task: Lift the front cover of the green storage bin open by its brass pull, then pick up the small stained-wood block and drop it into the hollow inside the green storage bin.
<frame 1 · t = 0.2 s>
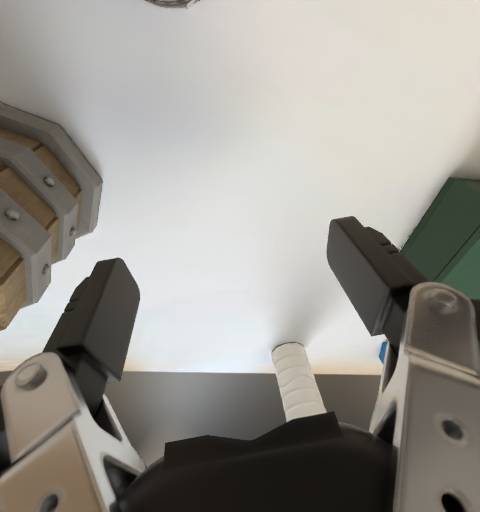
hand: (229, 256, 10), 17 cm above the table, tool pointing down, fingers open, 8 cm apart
water bottle: (292, 350, 49), on the table
green storage bin: (466, 230, 34), on the table
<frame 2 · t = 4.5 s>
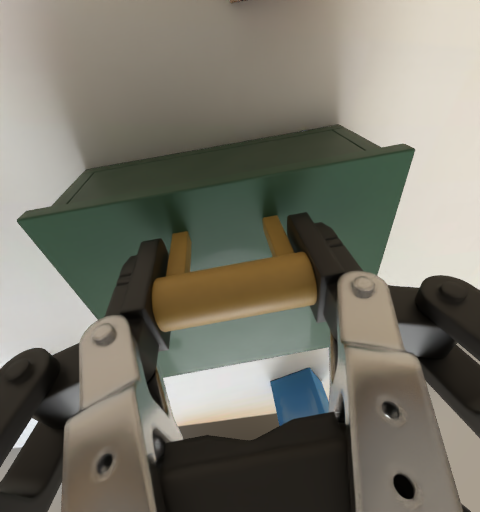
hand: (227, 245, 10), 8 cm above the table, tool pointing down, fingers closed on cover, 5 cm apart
perfume bottle: (296, 380, 39), on the table
green storage bin: (230, 235, 20), on the table
cover: (245, 329, 13), point 9 cm above the table, hinge at -0.1°, touching gripper
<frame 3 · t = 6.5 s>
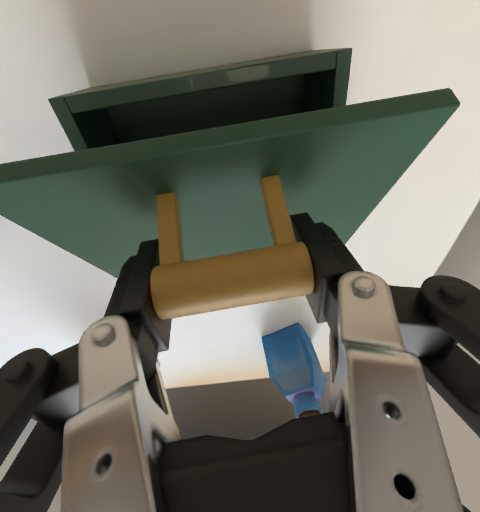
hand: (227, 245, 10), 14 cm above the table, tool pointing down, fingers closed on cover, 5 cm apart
perfume bottle: (286, 338, 40), on the table
green storage bin: (219, 164, 22), on the table
cover: (235, 272, 14), point 12 cm above the table, hinge at 30.3°, touching gripper
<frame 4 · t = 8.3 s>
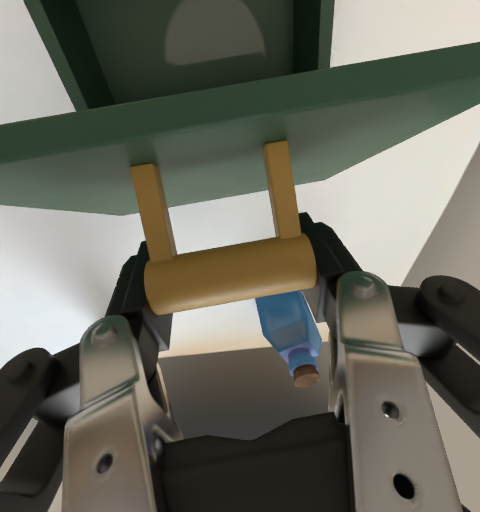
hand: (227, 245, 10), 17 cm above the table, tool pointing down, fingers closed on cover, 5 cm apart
perfume bottle: (281, 301, 39), on the table
green storage bin: (203, 80, 20), on the table
cover: (225, 220, 13), point 14 cm above the table, hinge at 58.3°, touching gripper
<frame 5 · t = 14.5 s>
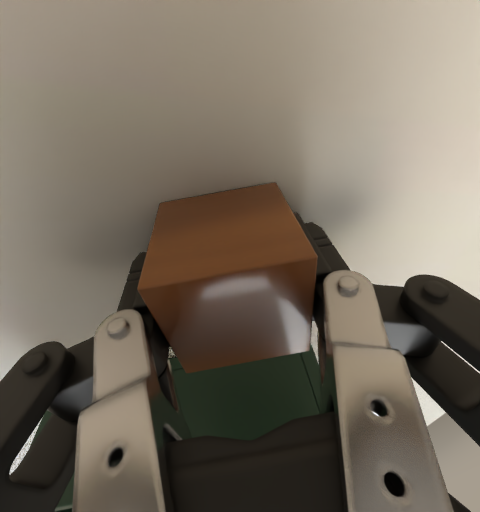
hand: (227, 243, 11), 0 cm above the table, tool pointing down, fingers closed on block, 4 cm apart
block: (227, 239, 11), on the table, touching gripper
green storage bin: (206, 398, 20), on the table
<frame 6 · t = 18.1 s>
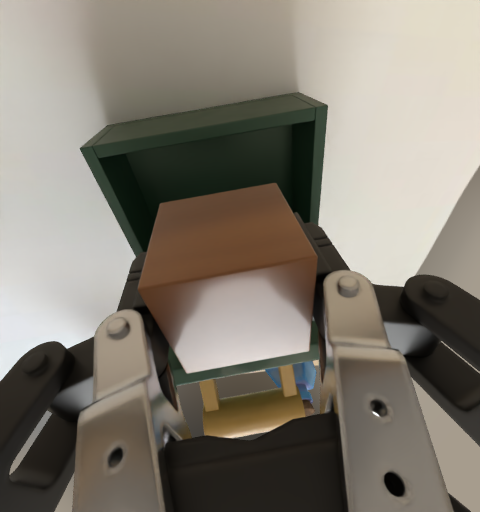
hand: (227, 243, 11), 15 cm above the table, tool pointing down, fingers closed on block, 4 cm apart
perfume bottle: (281, 335, 44), on the table
block: (227, 239, 11), point 15 cm above the table, touching gripper
green storage bin: (218, 185, 25), on the table
cover: (243, 336, 18), point 14 cm above the table, hinge at 58.9°
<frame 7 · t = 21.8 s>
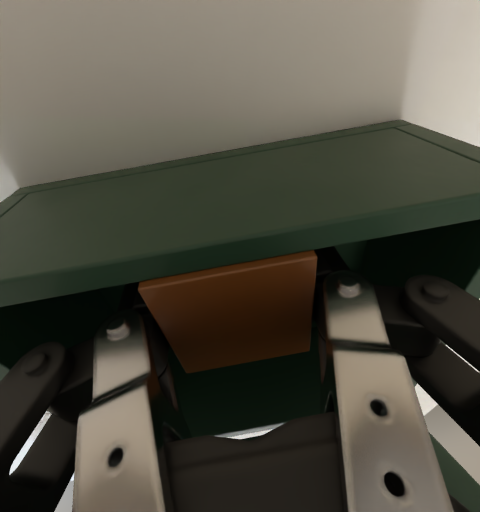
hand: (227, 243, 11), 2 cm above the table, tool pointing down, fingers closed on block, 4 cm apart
block: (227, 239, 11), point 2 cm above the table, touching green storage bin, gripper
green storage bin: (235, 271, 15), on the table
when the fingers open (2 cm above the table, at t = 21.8 s): block drops 1 cm, resting on green storage bin.
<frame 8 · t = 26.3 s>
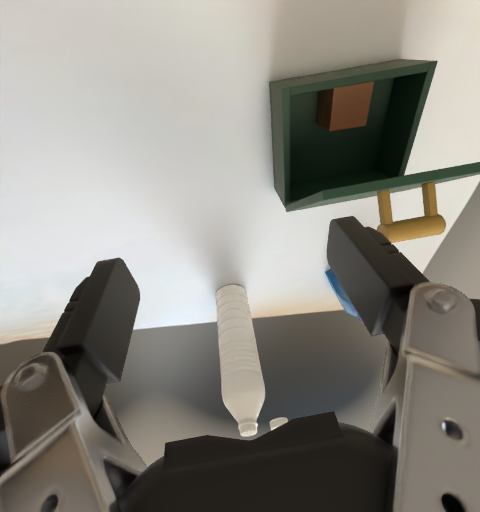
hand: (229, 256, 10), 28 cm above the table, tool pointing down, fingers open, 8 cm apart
perfume bottle: (342, 273, 53), on the table
water bottle: (236, 293, 53), on the table
block: (334, 101, 32), point 1 cm above the table, touching green storage bin
green storage bin: (329, 131, 35), on the table
cover: (376, 212, 27), point 14 cm above the table, hinge at 56.6°
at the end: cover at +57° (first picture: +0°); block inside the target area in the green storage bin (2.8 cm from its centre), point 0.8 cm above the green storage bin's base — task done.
